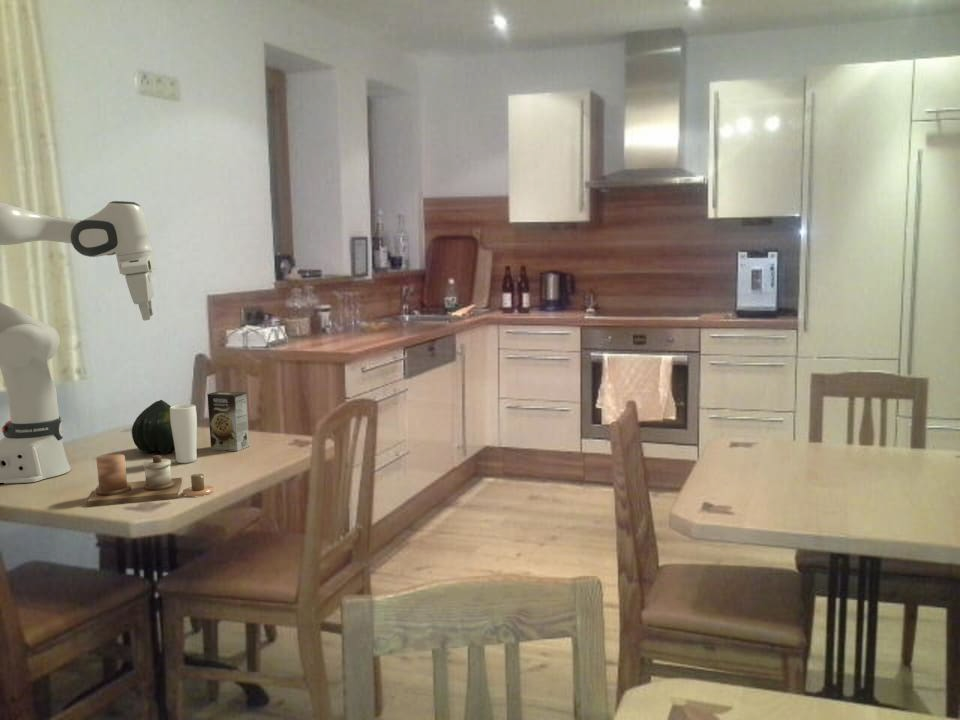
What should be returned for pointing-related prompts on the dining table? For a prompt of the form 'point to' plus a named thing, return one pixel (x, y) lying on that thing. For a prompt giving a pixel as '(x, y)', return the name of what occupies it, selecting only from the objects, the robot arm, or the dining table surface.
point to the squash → (154, 429)
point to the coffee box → (228, 420)
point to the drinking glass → (184, 432)
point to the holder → (120, 491)
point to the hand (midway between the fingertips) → (148, 318)
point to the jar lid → (198, 487)
